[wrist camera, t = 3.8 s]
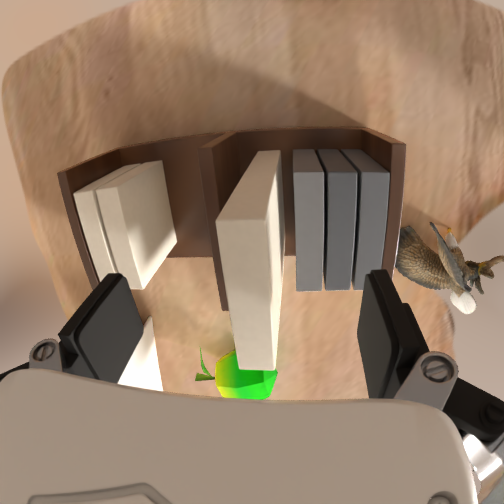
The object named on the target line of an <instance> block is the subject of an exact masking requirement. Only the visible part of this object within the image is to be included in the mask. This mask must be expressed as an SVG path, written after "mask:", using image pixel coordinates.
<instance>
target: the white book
mask: <svg viewBox="0 0 504 504" xmlns="http://www.w3.org/2000/svg"><path fill="white" fill-rule="evenodd" d="M216 229H217V235H218V242H219V249H220V256H221V263H222V269H223V276H224V282H225V288H226V295H227V301H228V307H229V313H230V319H231V325H232V331H233V337H234V343H235V349H236V355H237V360H238V366H239V369H245V370H275V365H276V354H277V343H278V332H279V320H280V307H281V294H282V280H283V266H284V251H285V222H284V201H283V182H282V165H281V151H280V150H271V151H258V153H257V154H256V156H255V157H254V159H253V160H252V162H251V164H250V165H249V167H248V168H247V170H246V172H245V173H244V175H243V176H242V178H241V180H240V181H239V183H238V184H237V186H236V188H235V189H234V191H233V193H232V194H231V196H230V198H229V199H228V201H227V203H226V204H225V206H224V207H223V209H222V211H221V212H220V214H219V216H218V217H217V219H216Z"/></svg>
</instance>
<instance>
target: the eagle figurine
mask: <svg viewBox="0 0 504 504" xmlns="http://www.w3.org/2000/svg"><path fill="white" fill-rule="evenodd" d="M430 225H431V227H432V228H433V230H434V231H435V233H436V236H437V240H438V243H437V245H438V253H439V255H438V254H436V253H435V252H434V251H432V250H431V249H430V248H429V247H427V246H426V245H425V244H424V243H423V241H422V240H421V238H420V237H419V236H418V235H417V234H416V232H415V231H414V230H413V229H412V228H411V227H410V226H407V227H406V229H405V228H401V229H400V233H399V241H398V248H397V255H396V261H395V267H396V268H397V269H398V271H399V272H400V273H402V275H403V276H404V277H407V278H408V279H410V280H411V281H415V283H417V284H419V285H422V286H423V287H426V288H430V289H435V290H437V289H438V290H440V289H445V288H447V289H450V288H451V289H452V294H451V301H452V303H453V304H454V305H455V306H456V307H457V308H458V309H459V310H460V311H462V312H463V313H465V314H470V313H472V312H473V311H474V310H475V309H476V301H475V299H474V298H473V296H472V295H471V294H470V293H469V292H470V291H471V290H472V289H471V288H470V287H469V286H468V285H467V281H469V280H470V286H471V287H472V286H473V284H474V281H475V287H476V288H477V289H478V291H479V292H480V294H484V292H483V290H482V288H481V283H480V275H481V274H482V275H484V276H486V277H488V278H491V279H493V278H494V274H493V271H492V270H491V269H490V268H491V267H492V266H494V265H495V264H497V263H499V262H504V256H497V257H494V258H492V259H491V260H489V261H485V262H482V263H476V262H472V261H466V262H465V261H464V257H463V254H462V252H461V250H460V248H459V246H458V244H457V242H456V240H455V237H454V236H453V234H452V232H451V228H448V232H447V235H446V237H445V241H446V242H445V241H444V240H443V238H442V237H441V235H440V234H439V232H438V230H437V228H436V227H435V225H434V224H433V223H432V222H430Z"/></svg>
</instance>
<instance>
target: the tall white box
mask: <svg viewBox="0 0 504 504" xmlns="http://www.w3.org/2000/svg"><path fill="white" fill-rule="evenodd" d="M143 327H144V333H143V336H142V338H141V339H140V341H139V343H138V345H137V347H136V349H135V351H134V353H133V355H132V356H131V358H130V360H129V362H128V364H127V366H126V368H125V370H124V372H123V374H122V376H121V378H120V380H119V382H118V384H121V385H127V386H133V387H139V388H145V389H151V390H158V391H163V389H162V383H161V377H160V371H159V365H158V359H157V352H156V345H155V338H154V330H153V322H152V316H149V317H148V319H147V321H146V323H145V324H144V326H143Z"/></svg>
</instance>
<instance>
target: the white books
mask: <svg viewBox="0 0 504 504" xmlns="http://www.w3.org/2000/svg"><path fill="white" fill-rule="evenodd" d="M74 198H75V202H76V206H77V210H78V214H79V217H80V221H81V224H82V228H83V231H84V235H85V238H86V241H87V244H88V247H89V251H90V254H91V257H92V260H93V263H94V266H95V269H96V271H97V274H98V277H99V280H100V282H101V281H102V280H103V278H104V277H105V276H106V275H107V274H108V273H121V274H122V275H123V276H124V277H126V278H127V281H128V284H129V287H130V289H144V288H145V286H146V285H147V283H148V282H149V281H150V279H151V278H152V276H153V275H154V273H155V272H156V271H157V269H158V268H159V266H160V265H161V264H162V262H163V261H164V259H165V258H166V257H167V255H168V254H169V252H170V251H171V250H172V248H173V247H174V245H175V244H176V243H177V239H176V234H175V229H174V224H173V219H172V214H171V209H170V203H169V198H168V192H167V186H166V181H165V175H164V169H163V162H162V160H160V161H153V162H146V163H143V164H140V163H139V164H133V165H127V166H123V167H121V168H119V169H117V170H115V171H113V172H111V173H110V174H108V175H106V176H104V177H102V178H100V179H98V180H96V181H94V182H93V183H91V184H89V185H87V186H85V187H84V188H82V189H80V190H78V191H76V192H75V193H74Z"/></svg>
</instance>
